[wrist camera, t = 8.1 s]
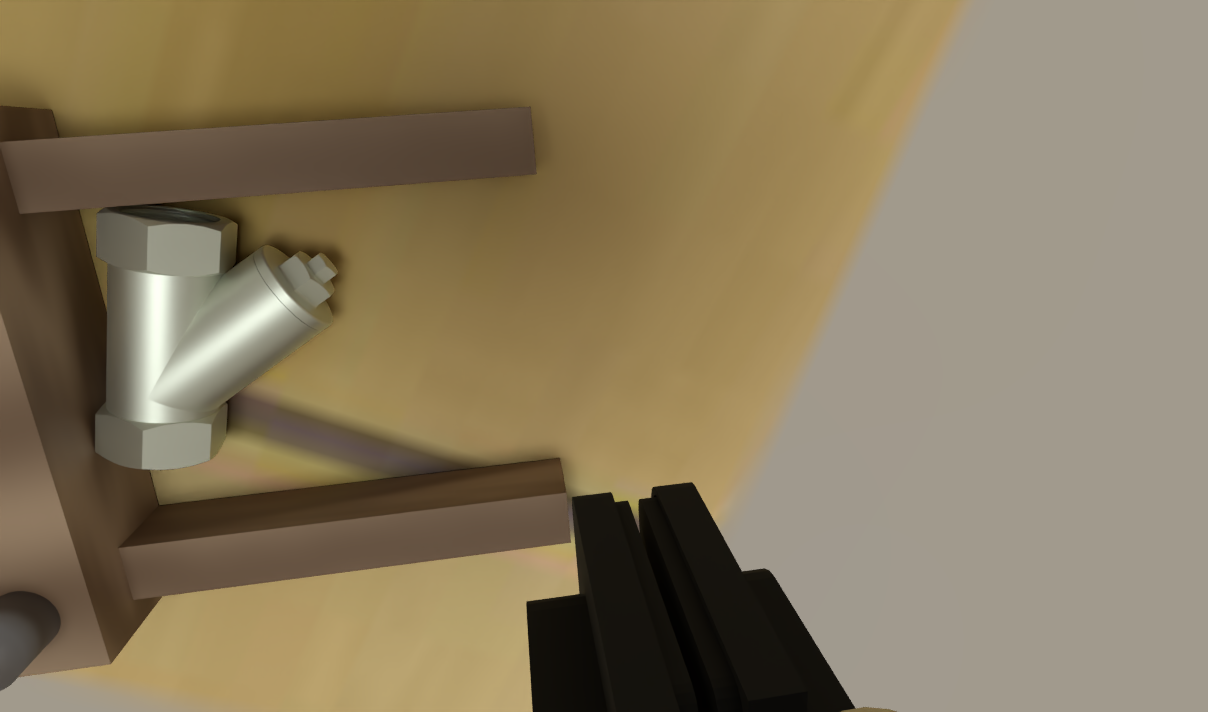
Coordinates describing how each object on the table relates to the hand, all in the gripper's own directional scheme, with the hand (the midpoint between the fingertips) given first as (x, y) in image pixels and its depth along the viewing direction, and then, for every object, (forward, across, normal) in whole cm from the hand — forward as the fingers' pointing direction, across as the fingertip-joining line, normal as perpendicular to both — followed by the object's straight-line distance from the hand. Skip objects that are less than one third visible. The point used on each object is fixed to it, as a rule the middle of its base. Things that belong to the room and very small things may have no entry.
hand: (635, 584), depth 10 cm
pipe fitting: (+18, +11, 0) cm, 21 cm away
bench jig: (+18, +11, +1) cm, 21 cm away
